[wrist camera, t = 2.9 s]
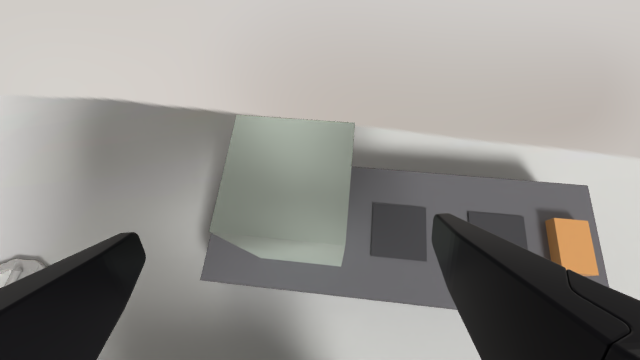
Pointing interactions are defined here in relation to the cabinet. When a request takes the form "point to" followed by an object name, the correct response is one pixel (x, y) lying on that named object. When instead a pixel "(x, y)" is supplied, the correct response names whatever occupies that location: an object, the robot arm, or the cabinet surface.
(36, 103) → the cabinet surface
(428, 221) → the power strip
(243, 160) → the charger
